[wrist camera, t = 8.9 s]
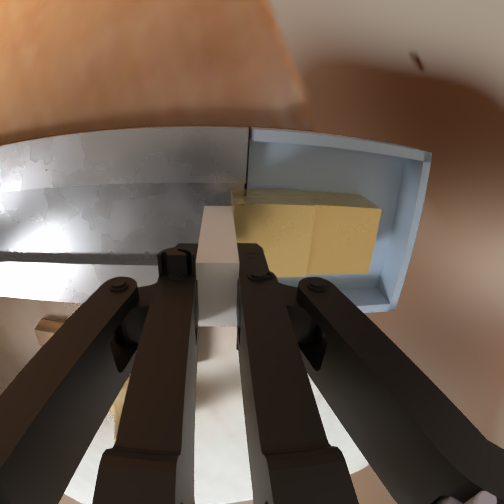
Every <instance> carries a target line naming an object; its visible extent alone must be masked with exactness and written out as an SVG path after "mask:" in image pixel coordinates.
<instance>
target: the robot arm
mask: <svg viewBox="0 0 504 504" xmlns="http://www.w3.org/2000/svg"><path fill="white" fill-rule="evenodd" d="M157 261H158V272H159V277H158V280H157V283H155V284H152V285H148V286H142V287H138V286H137V281H135V280H134V279H133V278H129V277H122V276H119V277H114V278H112V279H109V280H107V281H106V282H104V283H103V284H102V285H101V286H100V287H99V288H98V289H97V290H96V291H95V292H94V293H93V294H92V295H91V296H90V297H89V298H88V299H87V300H86V301H85V302H84V303H83V304H82V305H81V306H80V307H79V308H78V309H77V310H76V311H75V312H74V313H73V314H72V315H71V316H70V318H69V319H68V320H67V321H66V322H65V323H64V324H63V325H62V326H61V327H60V328H59V329H58V330H57V331H56V332H55V333H54V335H53V336H52V337H51V338H50V339H49V340H48V341H47V342H46V343H45V344H44V345H43V347H42V348H41V349H40V350H39V351H38V352H37V353H36V354H35V356H34V357H33V358H32V359H31V360H30V361H29V362H28V364H27V365H26V366H25V367H24V368H23V369H22V371H21V372H20V373H19V374H18V375H17V376H16V378H15V379H14V380H13V381H12V382H11V384H10V385H9V386H8V387H7V388H6V390H5V391H4V392H3V393H2V395H1V396H0V504H58V503H59V501H60V499H61V497H62V496H63V494H64V492H65V490H66V488H67V486H68V484H69V482H70V480H71V478H72V477H73V475H74V473H75V471H76V469H77V467H78V465H79V463H80V462H81V460H82V458H83V456H84V454H85V452H86V451H87V449H88V447H89V445H90V443H91V442H92V440H93V438H94V436H95V434H96V433H97V431H98V429H99V427H100V425H101V424H102V422H103V420H104V418H105V417H106V415H107V413H108V411H109V410H110V408H111V406H112V404H113V403H114V401H115V399H116V398H117V396H118V394H119V392H120V391H121V389H122V387H123V386H124V384H125V382H126V381H127V379H128V377H129V375H130V374H131V375H130V379H129V383H128V387H127V391H126V395H125V400H124V404H123V408H122V413H121V417H120V422H119V427H118V431H117V436H116V441H115V444H114V446H113V448H111V449H106V450H105V452H104V453H103V454H102V458H101V461H100V465H99V470H98V475H97V480H96V486H95V491H94V497H93V503H92V504H195V501H194V432H195V398H196V374H197V354H198V336H199V333H198V326H217V327H230V326H237V350H238V351H239V363H240V373H241V384H242V395H243V405H244V415H245V425H246V434H247V444H248V453H249V462H250V471H251V480H252V489H253V504H359V503H358V499H357V496H356V493H355V490H354V487H353V483H352V480H351V477H350V474H349V471H348V467H347V464H346V461H345V459H344V456H343V454H342V452H341V451H340V449H339V448H338V447H334V446H331V445H330V444H329V443H328V440H327V437H326V434H325V431H324V427H323V424H322V421H321V417H320V414H319V411H318V408H317V404H316V401H315V398H314V394H313V391H312V388H311V385H310V381H309V378H308V375H307V373H308V374H309V376H310V377H311V379H312V380H313V382H314V383H315V385H316V386H317V388H318V389H319V391H320V392H321V394H322V395H323V397H324V398H325V400H326V401H327V403H328V404H329V406H330V407H331V409H332V410H333V412H334V413H335V415H336V416H337V418H338V419H339V421H340V422H341V424H342V425H343V427H344V428H345V429H346V431H347V432H348V434H349V435H350V437H351V438H352V440H353V441H354V443H355V444H356V446H357V447H358V448H359V450H360V451H361V453H362V454H363V456H364V457H365V459H366V460H367V461H368V463H369V464H370V466H371V467H372V469H373V470H374V471H375V473H376V474H377V476H378V477H379V479H380V480H381V482H382V483H383V484H384V486H385V487H386V489H387V490H388V491H389V493H390V494H391V496H392V497H393V499H394V500H395V501H396V502H397V503H398V504H504V449H502V448H500V447H498V446H497V445H495V444H493V443H491V442H490V441H488V440H487V439H486V438H485V437H484V436H483V435H482V434H481V433H480V432H479V430H478V429H477V428H476V427H475V426H474V425H473V424H472V423H471V422H470V421H469V420H468V419H467V418H466V416H464V415H463V413H462V412H461V411H460V410H459V409H458V408H457V407H456V406H455V405H454V404H453V403H452V402H451V401H450V400H449V399H448V398H447V396H446V395H445V394H444V393H443V392H442V391H441V390H440V389H439V388H438V387H437V386H436V385H435V384H434V383H433V382H432V381H431V380H430V379H429V378H428V377H427V376H426V375H425V374H424V373H423V372H422V371H421V370H420V369H419V368H418V367H417V366H416V365H415V364H414V363H413V362H412V361H411V360H410V359H409V358H408V357H407V356H406V355H405V354H404V353H403V352H402V351H401V350H400V349H399V348H398V347H397V346H396V345H395V344H394V343H393V342H392V341H391V340H390V339H389V338H388V337H387V336H386V335H385V334H384V333H383V332H382V331H381V330H380V329H379V328H378V327H377V326H376V325H375V324H374V323H373V322H372V321H371V320H370V319H369V318H368V317H367V316H366V315H365V314H364V313H363V312H362V311H361V310H360V309H359V308H358V307H357V306H356V305H355V304H354V303H353V302H352V301H351V300H350V299H348V298H347V297H346V296H345V295H344V294H343V293H342V292H341V291H340V290H339V289H338V288H337V287H336V286H335V285H334V284H333V283H331V282H330V281H328V280H326V279H323V278H321V277H307V278H303V279H302V280H300V281H299V284H298V287H294V286H288V285H284V284H281V283H279V282H278V280H277V277H276V275H275V274H274V273H273V272H271V271H269V268H268V264H267V261H266V258H265V254H264V251H263V248H262V247H261V246H260V245H258V244H257V243H237V241H236V233H235V225H234V217H233V209H232V206H204V211H203V217H202V224H201V230H200V237H199V243H179V244H177V245H176V246H175V247H172V248H167V249H164V250H162V251H160V252H159V253H158V254H157ZM306 371H307V372H306Z"/></svg>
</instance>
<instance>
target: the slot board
mask: <svg viewBox="0 0 504 504" xmlns="http://www.w3.org/2000/svg"><path fill="white" fill-rule="evenodd" d="M248 133H249V128H248V127H242V126H152V127H133V128H118V129H106V130H95V131H86V132H77V133H69V134H61V135H54V136H48V137H41V138H35V139H29V140H24V141H18V142H13V143H8V144H3V145H0V296H4V297H14V298H24V299H34V300H45V301H58V302H71V303H84V302H85V301H86V300H87V299H88V298H89V297H90V296H91V295H92V294H93V293H94V292H95V291H96V290H97V289H98V288H99V287H100V286H101V285H102V284H103V283H104V282H106V281H107V280H109V279H112V278H114V277H119V276H122V277H129V278H133V279H134V280H135V281H137V286H138V287H142V286H148V285H152V284H155V283H157V280H158V277H159V272H158V261H157V254H158V253H159V252H160V251H162V250H164V249H167V248H172V247H175V246H176V245H177V244H179V243H199V237H200V230H201V224H202V217H203V211H204V206H230V204H231V189H244V183H246V169H247V150H248Z"/></svg>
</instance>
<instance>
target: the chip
mask: <svg viewBox="0 0 504 504" xmlns="http://www.w3.org/2000/svg"><path fill="white" fill-rule="evenodd" d="M299 191H301V192H302V193H303V194H304V195H305V196H306V197H307V198H308V199H309V200H310V201H311V202H312V203H313V204H314V205H315V215H314V222H313V230H312V238H311V245H310V252H309V259H308V266H307V273H306V275H322V274H368V272H369V268H370V263H371V259H372V255H373V250H374V246H375V241H376V236H377V231H378V226H379V221H380V216H381V210H382V209H381V208H380V207H378V206H377V205H375V204H374V203H372V202H371V201H369V200H368V199H366V198H365V197H363V196H362V195H360V194H350V193H336V192H321V191H304V190H299Z"/></svg>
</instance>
